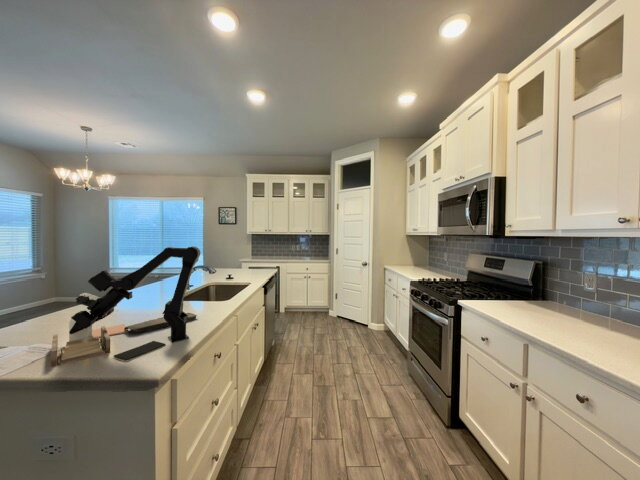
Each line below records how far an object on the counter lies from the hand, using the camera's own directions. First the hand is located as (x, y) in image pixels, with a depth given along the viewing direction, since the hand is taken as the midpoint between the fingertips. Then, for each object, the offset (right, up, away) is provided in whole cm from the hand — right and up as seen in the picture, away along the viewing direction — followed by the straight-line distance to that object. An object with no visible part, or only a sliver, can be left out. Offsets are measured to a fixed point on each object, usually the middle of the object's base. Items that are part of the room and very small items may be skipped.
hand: (76, 329), depth 100 cm
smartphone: (+27, -8, -3) cm, 28 cm away
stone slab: (+18, -6, +26) cm, 32 cm away
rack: (+5, -7, -3) cm, 9 cm away
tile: (0, -6, +16) cm, 17 cm away
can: (+1, -7, 0) cm, 7 cm away
